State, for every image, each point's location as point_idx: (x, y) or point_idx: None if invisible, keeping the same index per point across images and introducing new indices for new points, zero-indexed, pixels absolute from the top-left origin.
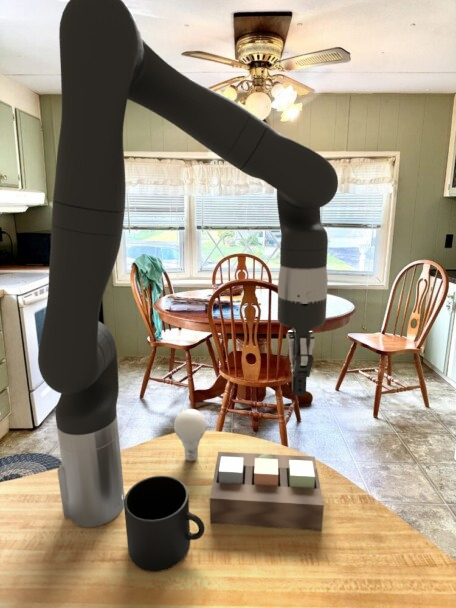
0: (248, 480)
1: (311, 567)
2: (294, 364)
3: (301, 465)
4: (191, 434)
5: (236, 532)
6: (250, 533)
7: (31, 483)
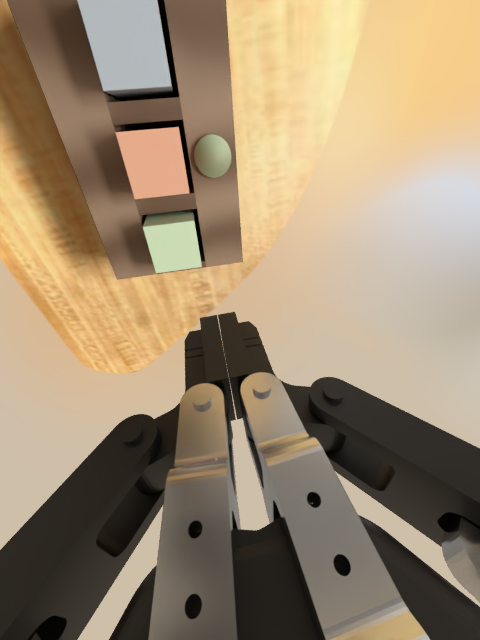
0: (126, 113)
1: (50, 245)
2: (59, 545)
3: (182, 247)
4: None
5: None
6: None
7: None
